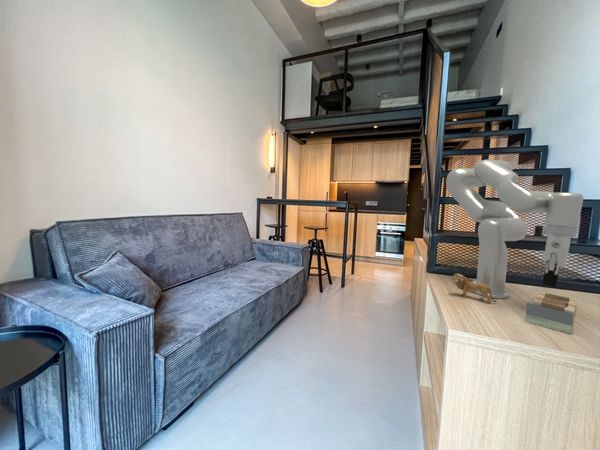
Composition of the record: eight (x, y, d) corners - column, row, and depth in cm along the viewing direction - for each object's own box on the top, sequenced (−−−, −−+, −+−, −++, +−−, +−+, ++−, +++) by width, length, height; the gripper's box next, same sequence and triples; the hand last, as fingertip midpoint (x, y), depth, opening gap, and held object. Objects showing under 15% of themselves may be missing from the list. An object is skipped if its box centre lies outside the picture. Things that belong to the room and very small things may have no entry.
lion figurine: (450, 296, 103) (452, 274, 102) (452, 292, 107) (453, 271, 106) (496, 305, 94) (498, 281, 93) (496, 301, 98) (498, 278, 97)
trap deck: (571, 334, 74) (572, 325, 73) (525, 321, 81) (526, 314, 81) (575, 305, 96) (576, 298, 96) (539, 297, 104) (540, 291, 103)
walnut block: (562, 321, 76) (564, 307, 76) (539, 316, 80) (541, 302, 79) (563, 317, 79) (565, 303, 79) (541, 311, 83) (543, 298, 83)
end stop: (572, 325, 73) (573, 314, 73) (526, 314, 81) (527, 303, 81) (572, 324, 74) (573, 312, 74) (526, 312, 82) (528, 302, 82)
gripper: (575, 235, 75) (563, 294, 78) (577, 230, 85) (566, 283, 88) (540, 231, 81) (530, 286, 83) (546, 227, 91) (537, 277, 93)
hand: (549, 284), depth 86 cm, fingers closed
